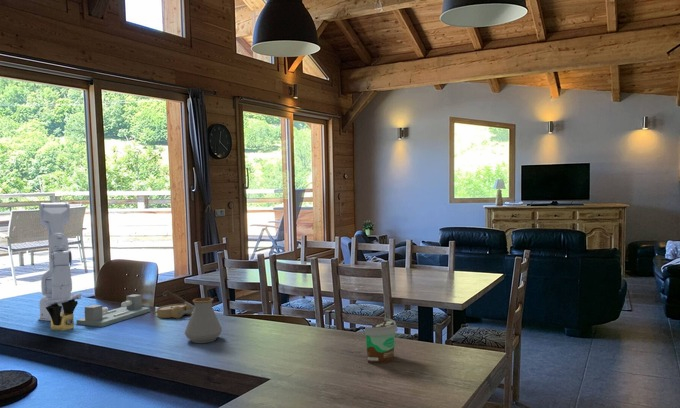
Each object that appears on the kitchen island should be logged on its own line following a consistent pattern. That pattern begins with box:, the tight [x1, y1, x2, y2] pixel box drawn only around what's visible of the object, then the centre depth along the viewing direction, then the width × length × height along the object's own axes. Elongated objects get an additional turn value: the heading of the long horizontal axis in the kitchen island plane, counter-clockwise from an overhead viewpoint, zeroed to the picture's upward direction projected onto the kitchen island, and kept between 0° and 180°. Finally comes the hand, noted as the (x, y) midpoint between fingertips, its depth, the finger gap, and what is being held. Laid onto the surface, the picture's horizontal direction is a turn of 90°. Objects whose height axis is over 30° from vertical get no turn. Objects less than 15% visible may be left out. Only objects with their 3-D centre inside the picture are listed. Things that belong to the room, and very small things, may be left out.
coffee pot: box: [162, 290, 223, 344], centre depth 161 cm, size 21×12×15 cm, turn 67°
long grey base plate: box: [76, 294, 151, 328], centre depth 190 cm, size 12×24×6 cm, turn 160°
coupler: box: [50, 313, 75, 332], centre depth 175 cm, size 4×7×5 cm, turn 70°
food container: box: [364, 317, 398, 364], centre depth 138 cm, size 12×6×10 cm, turn 148°
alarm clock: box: [153, 303, 194, 320], centre depth 192 cm, size 11×5×15 cm
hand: (62, 323), depth 175 cm, fingers closed on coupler, 4 cm apart
